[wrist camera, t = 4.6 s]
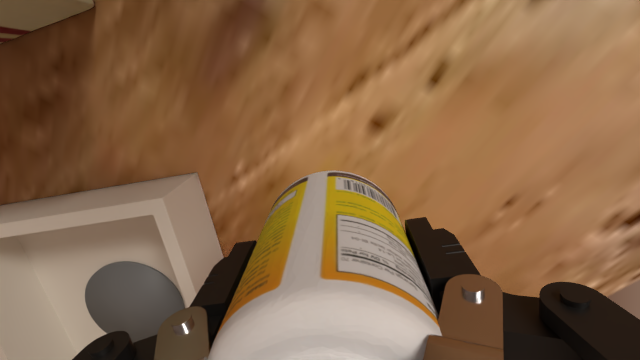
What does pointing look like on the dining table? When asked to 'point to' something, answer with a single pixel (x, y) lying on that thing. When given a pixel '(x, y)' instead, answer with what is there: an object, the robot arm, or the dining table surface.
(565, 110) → the dining table surface
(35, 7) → the gift box
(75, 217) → the box
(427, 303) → the supplement bottle
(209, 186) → the dining table surface
